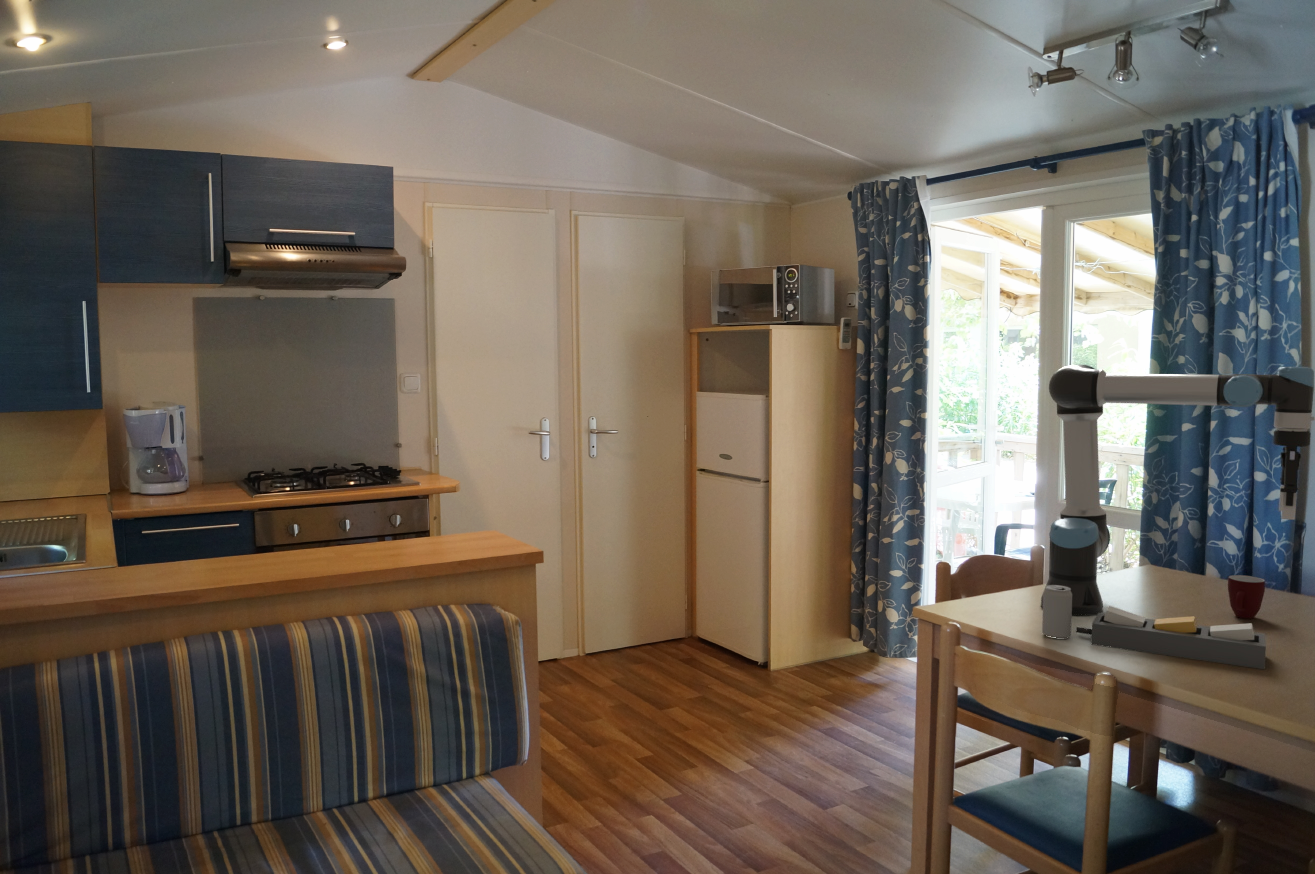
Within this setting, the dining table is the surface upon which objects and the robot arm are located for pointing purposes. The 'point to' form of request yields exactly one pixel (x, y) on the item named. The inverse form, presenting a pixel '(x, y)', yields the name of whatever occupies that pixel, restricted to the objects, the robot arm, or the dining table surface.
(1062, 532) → the robot arm
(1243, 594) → the mug
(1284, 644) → the dining table surface
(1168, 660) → the dining table surface
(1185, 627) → the rocker amber
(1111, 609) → the rocker grey left
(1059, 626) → the beverage can
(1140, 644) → the power strip
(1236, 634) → the rocker grey right
